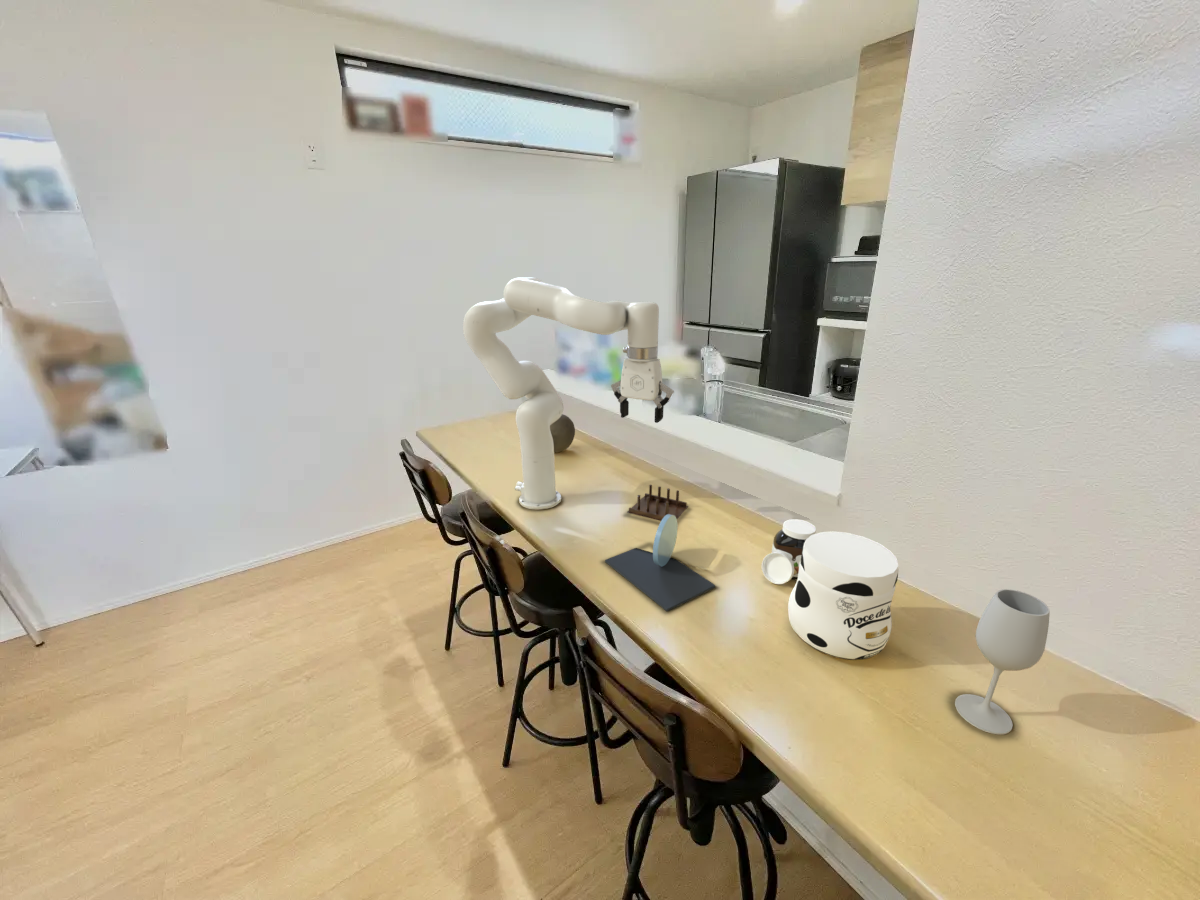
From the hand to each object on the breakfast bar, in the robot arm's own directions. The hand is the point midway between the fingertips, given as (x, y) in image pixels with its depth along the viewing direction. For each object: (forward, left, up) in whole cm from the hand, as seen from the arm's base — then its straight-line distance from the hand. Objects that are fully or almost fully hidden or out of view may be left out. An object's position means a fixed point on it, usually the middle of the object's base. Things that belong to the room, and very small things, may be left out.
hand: (641, 418), depth 129 cm
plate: (+16, -24, -26) cm, 39 cm away
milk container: (+53, -26, -28) cm, 66 cm away
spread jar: (+42, -10, -28) cm, 52 cm away
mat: (+16, -24, -28) cm, 40 cm away
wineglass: (+75, -34, -28) cm, 87 cm away
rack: (+4, +4, -28) cm, 29 cm away
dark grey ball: (-49, +31, -28) cm, 65 cm away
